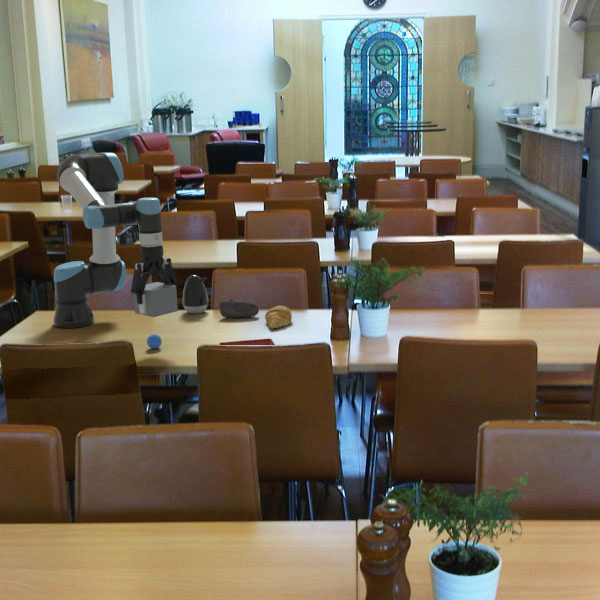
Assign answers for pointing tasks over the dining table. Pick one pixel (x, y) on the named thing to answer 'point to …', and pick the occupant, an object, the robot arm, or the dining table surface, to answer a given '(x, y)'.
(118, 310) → the dining table surface
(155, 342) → the ball
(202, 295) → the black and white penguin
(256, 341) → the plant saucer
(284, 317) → the croissant
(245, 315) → the perforated stone tool
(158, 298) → the matte grey cube
